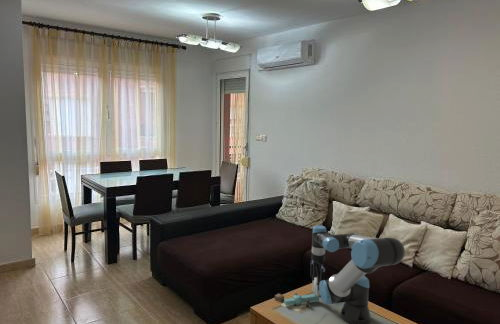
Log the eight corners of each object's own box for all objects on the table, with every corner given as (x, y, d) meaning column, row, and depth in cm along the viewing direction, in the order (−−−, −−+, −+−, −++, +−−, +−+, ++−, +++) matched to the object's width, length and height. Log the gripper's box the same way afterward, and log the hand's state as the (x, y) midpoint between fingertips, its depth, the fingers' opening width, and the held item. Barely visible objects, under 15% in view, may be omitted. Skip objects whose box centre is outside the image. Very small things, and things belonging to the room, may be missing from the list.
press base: (312, 307, 201) (312, 298, 201) (302, 315, 193) (302, 306, 192) (290, 299, 210) (290, 290, 209) (280, 306, 201) (280, 298, 200)
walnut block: (284, 295, 207) (278, 293, 209) (280, 297, 204) (274, 295, 207) (283, 301, 207) (278, 299, 210) (280, 303, 204) (274, 301, 207)
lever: (321, 301, 204) (322, 279, 202) (286, 306, 197) (287, 284, 196) (317, 297, 208) (318, 275, 207) (283, 302, 202) (284, 280, 200)
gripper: (332, 257, 196) (330, 298, 199) (316, 247, 212) (314, 285, 214) (320, 259, 193) (318, 301, 196) (305, 249, 209) (303, 287, 212)
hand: (316, 293), depth 205 cm, fingers open, 4 cm apart
